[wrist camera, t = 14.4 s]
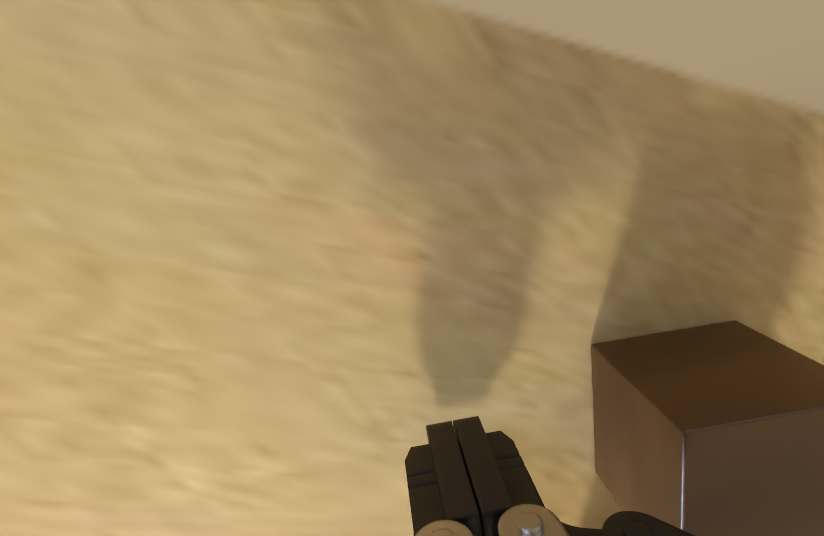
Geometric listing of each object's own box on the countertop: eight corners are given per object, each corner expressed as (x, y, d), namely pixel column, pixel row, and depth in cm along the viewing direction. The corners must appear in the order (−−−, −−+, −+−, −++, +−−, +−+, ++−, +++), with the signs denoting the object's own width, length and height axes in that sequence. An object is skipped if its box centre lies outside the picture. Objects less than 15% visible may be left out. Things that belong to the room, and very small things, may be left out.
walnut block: (590, 343, 15) (683, 431, 10) (735, 319, 15) (886, 395, 11) (595, 472, 16) (680, 598, 12) (729, 447, 16) (862, 563, 12)
